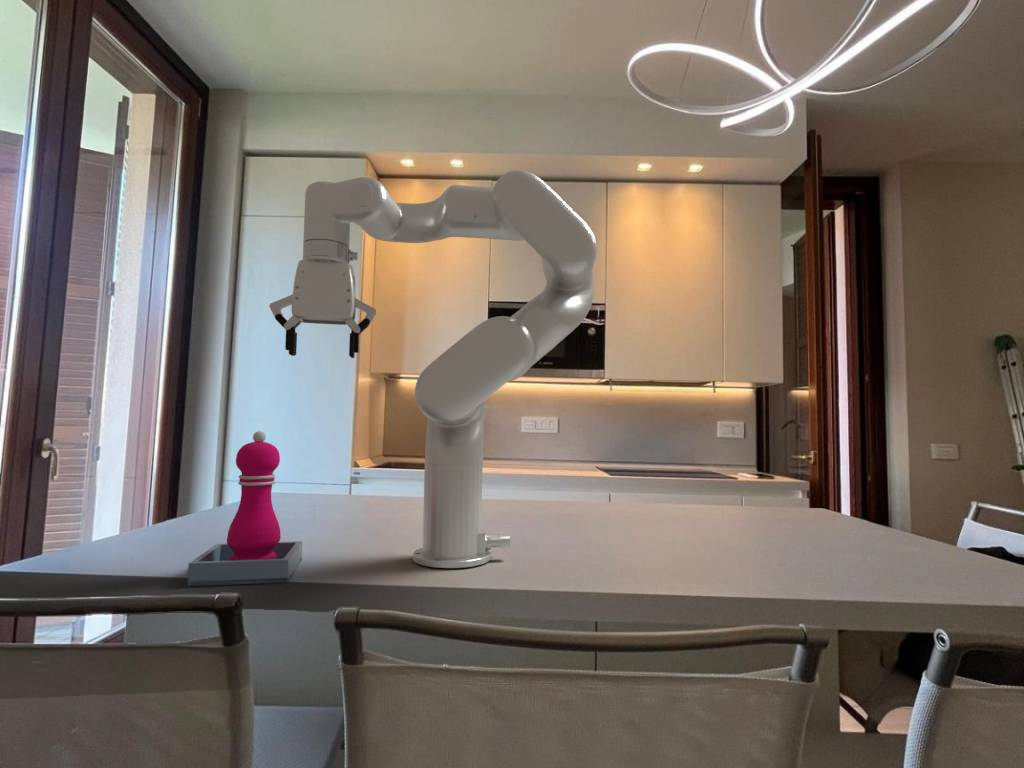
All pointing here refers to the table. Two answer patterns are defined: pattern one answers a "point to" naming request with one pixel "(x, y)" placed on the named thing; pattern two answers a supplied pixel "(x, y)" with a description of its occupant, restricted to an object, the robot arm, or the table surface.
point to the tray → (244, 566)
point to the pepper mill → (255, 503)
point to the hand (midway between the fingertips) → (322, 355)
